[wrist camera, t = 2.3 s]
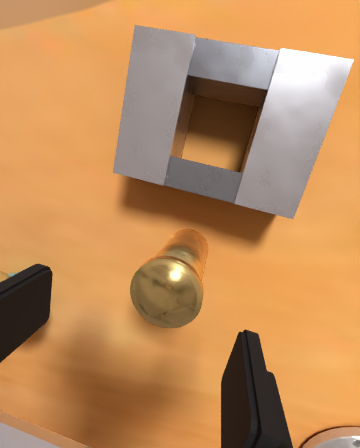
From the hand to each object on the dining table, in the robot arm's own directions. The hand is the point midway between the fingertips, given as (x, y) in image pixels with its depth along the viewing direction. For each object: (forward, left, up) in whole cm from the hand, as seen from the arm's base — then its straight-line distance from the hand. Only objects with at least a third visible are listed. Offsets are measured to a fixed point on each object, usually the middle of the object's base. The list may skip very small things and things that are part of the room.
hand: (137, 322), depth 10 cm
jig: (-1, -11, -12) cm, 16 cm away
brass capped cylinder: (-1, 0, -12) cm, 12 cm away
